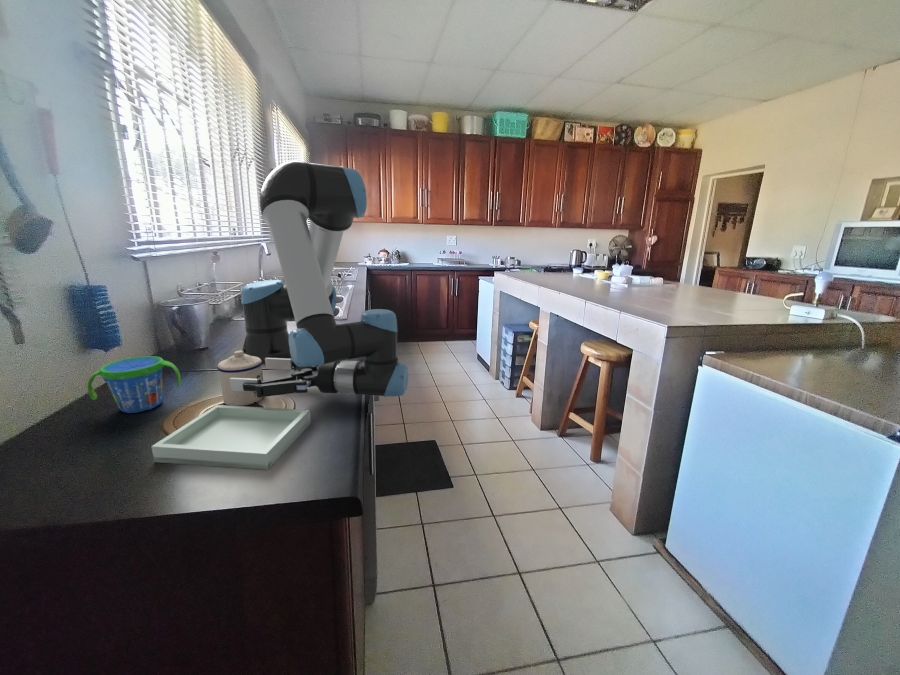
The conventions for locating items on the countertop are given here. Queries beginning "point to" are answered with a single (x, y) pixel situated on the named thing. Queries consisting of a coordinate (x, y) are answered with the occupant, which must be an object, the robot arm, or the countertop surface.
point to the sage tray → (233, 437)
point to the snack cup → (134, 382)
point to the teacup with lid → (239, 368)
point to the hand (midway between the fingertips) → (249, 372)
